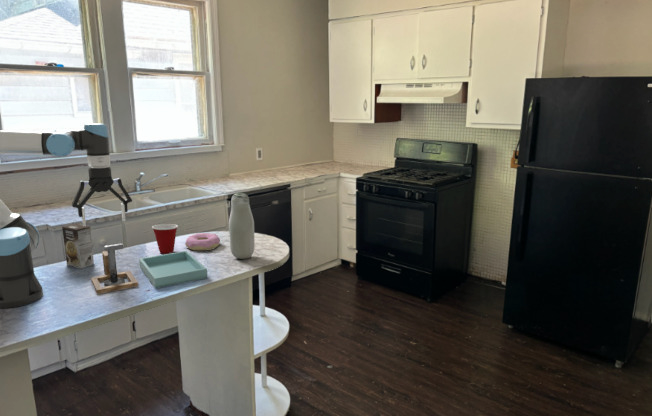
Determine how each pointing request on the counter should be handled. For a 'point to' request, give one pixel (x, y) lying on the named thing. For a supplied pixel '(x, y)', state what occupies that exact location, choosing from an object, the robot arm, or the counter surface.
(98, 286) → the ring
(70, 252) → the coffee box
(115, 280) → the grey metal stand
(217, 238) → the donut
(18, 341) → the counter surface
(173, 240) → the plastic cup
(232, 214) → the glass bottle
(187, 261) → the tray
